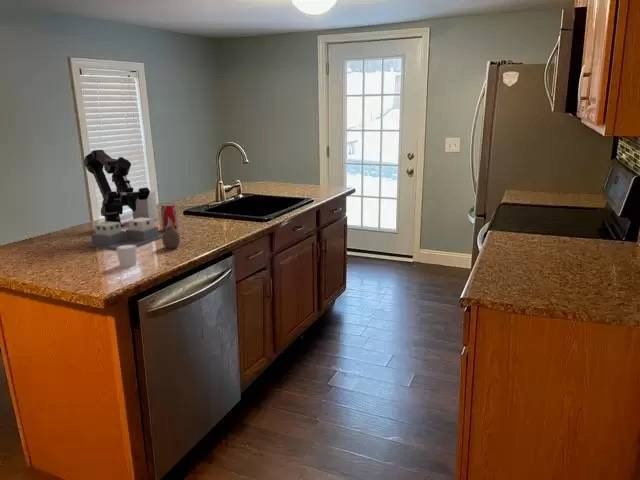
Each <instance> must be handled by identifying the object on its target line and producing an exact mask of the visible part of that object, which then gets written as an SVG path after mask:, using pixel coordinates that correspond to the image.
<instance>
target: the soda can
mask: <svg viewBox="0 0 640 480" xmlns="http://www.w3.org/2000/svg"><path fill="white" fill-rule="evenodd" d="M177 211H178V210H177V207H176V205H175V203H171V202H170V203H169V202H168V203H167V202H166V203H163V204H161V207H160V213H161V224H162V229H163V230H164V231H166V229H167V227H168V226H173V227H174V229H175V230H176V231H177V229H178V227H179V220H178V212H177Z"/></svg>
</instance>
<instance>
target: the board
mask: <svg viewBox="0 0 640 480" xmlns="http://www.w3.org/2000/svg"><path fill="white" fill-rule="evenodd" d="M90 236H91V242H90V243H88V244H87V247H88V246H89V247H88V248H95V247H97V248H98V249H103V248H104V250H111V251H112V250H113V251H117V249H116V248H117V247H118V246H121V245H136V248H139V247H141V246H144V245H147V244H150V243H152V242H155V241H157V240H160V239H161V240H162V237H163V234H159V227H158V226H154V228H152V229H149V230H146V231H134V230H130V228H128V229H126V230H121V232H120V233H116V234H113V235H110V236H105V235H96V232H95V233H93V234H91V235H90ZM97 248H96V249H97Z"/></svg>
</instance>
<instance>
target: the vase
mask: <svg viewBox="0 0 640 480" xmlns="http://www.w3.org/2000/svg"><path fill="white" fill-rule="evenodd" d="M162 235H163V237H162V238H161V240H162V243H163V246H164V247H165V248H166V249H168V250H170V249H171V250H173V249H177V248H178V247H179V246H180V243H181V236H180V233H179V231H177V229H176V230H175V229H174V227H173V226H168V227H167V229H166V230H164V232H163V234H162Z"/></svg>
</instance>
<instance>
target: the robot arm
mask: <svg viewBox="0 0 640 480" xmlns="http://www.w3.org/2000/svg"><path fill="white" fill-rule="evenodd" d="M83 164H84V167H85V168H86V170H87V171H88V172H89V173H91V174H93V177H94V179H95V181H96V184H97V187H98V189H99V191H100V193H101V197H102V198H103V199H102V202H101V209H100V214H101V215H100V216H102V217H104V222H107V221H110V222H120V225H121V228H122V227H124V225H123V224H122V223H121V222H122V221H121V218H120V215H123V209H124V207H125V206H127V207H128V208H129V209H130V210H131V211H132V210H133V211H136V200H137V198H138V199H140V200H145V199H147V198H148V196H149V193H150V191H151V190H150V188H149V187H139V189H138V190H137V191H134V187H132V186H131V184H130V183H131V180H128V178H127V176H128V175H129V172H130V169H131V168H132V167H131V166H132V163H131V161H129V160H128V159H126V158H124V157H123V156H118V159H117V158H112V157H111V156H110V155H108V153H106V152H105V150H103V149H94V150H92V151H91V152H90V153H89V154H87V155H85V157H84V159H83ZM104 171H105V172H106V173H107V174H108V175H109V174H111V183H114V185H115V187H116V188H115V190H112V188H111V186H110V184H109V182H108V179H107V177H106V174H105V172H104Z"/></svg>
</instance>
